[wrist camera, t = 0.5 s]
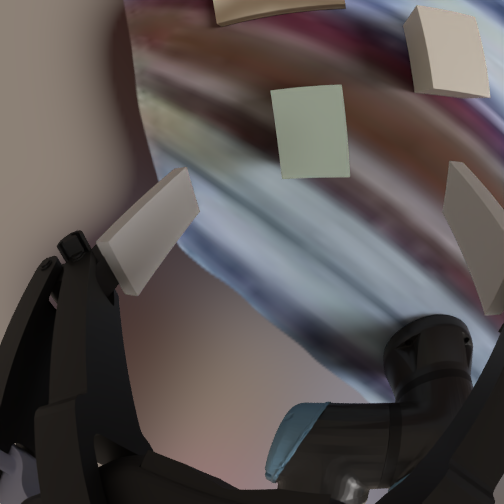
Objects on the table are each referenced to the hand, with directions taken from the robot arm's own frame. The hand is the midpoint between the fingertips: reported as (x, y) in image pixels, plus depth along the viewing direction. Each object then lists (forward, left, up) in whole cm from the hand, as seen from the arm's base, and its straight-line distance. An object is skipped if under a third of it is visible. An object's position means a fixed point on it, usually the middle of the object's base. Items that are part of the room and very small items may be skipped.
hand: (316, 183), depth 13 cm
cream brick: (+10, -13, -18) cm, 24 cm away
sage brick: (+2, +1, -18) cm, 18 cm away
